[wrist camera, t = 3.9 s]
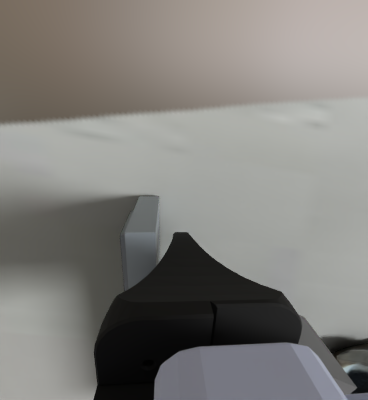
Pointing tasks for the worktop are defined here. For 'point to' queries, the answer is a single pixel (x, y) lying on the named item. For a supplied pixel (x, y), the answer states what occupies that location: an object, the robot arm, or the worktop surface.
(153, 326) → the robot arm
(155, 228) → the side door
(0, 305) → the worktop surface
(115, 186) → the worktop surface
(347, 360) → the salad plate
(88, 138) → the worktop surface
